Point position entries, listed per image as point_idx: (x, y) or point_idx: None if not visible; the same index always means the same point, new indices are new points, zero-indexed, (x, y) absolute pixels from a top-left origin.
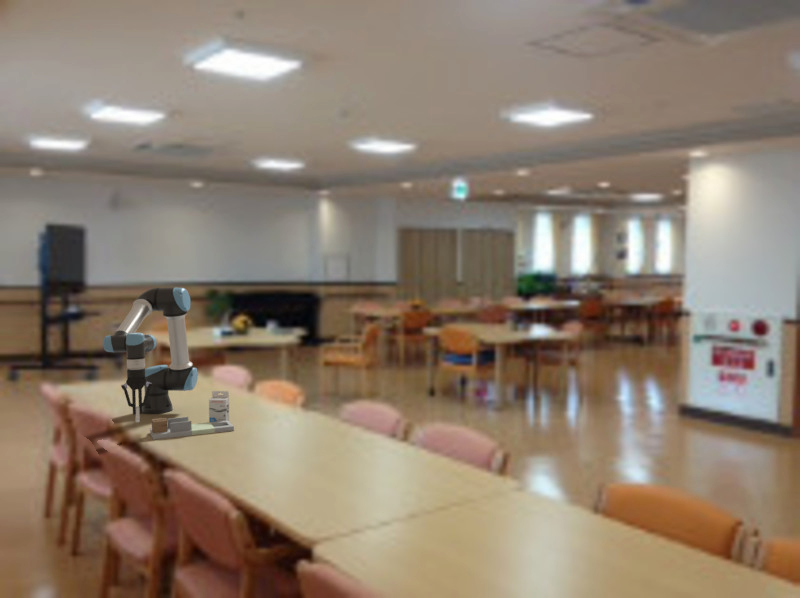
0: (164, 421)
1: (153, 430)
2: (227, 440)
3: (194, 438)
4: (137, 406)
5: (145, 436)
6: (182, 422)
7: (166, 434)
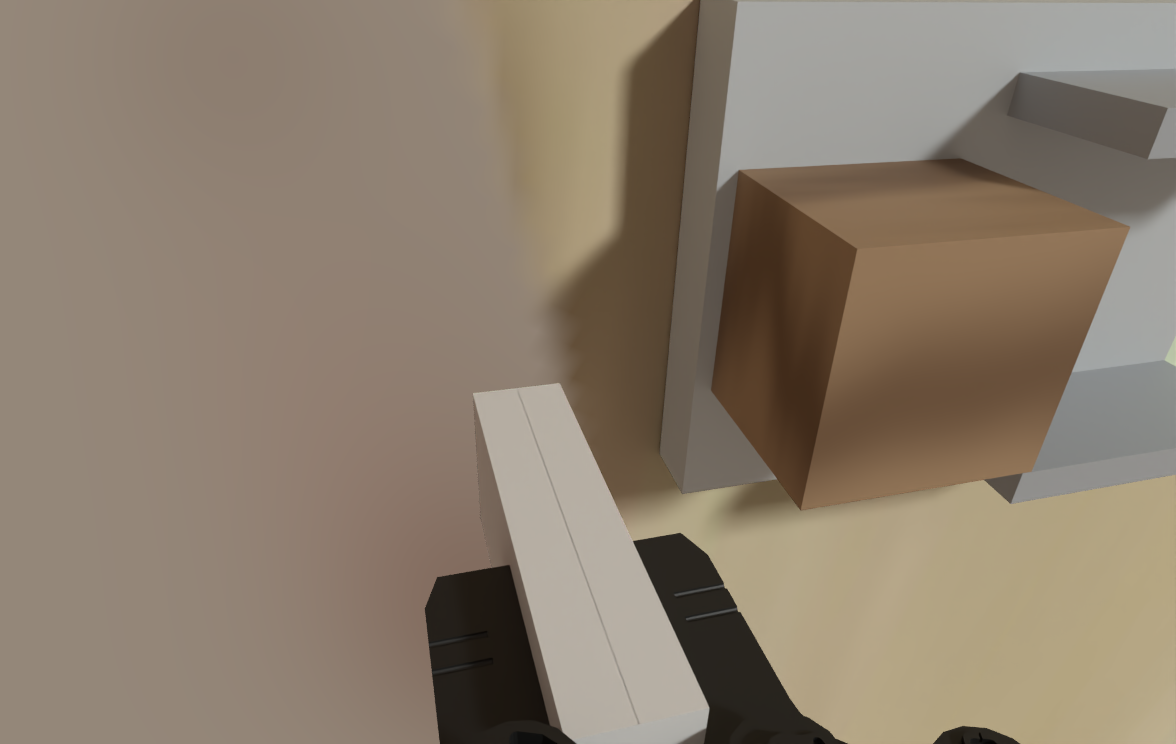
0: (978, 471)
1: (730, 413)
2: (1172, 631)
3: (1034, 518)
4: (655, 731)
5: (586, 233)
6: (1162, 473)
7: None
